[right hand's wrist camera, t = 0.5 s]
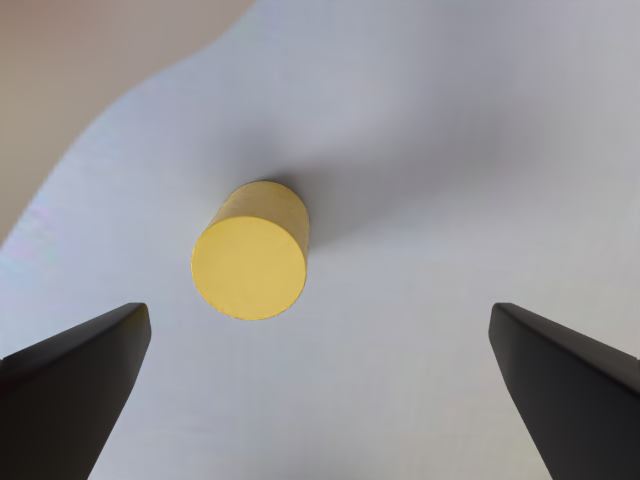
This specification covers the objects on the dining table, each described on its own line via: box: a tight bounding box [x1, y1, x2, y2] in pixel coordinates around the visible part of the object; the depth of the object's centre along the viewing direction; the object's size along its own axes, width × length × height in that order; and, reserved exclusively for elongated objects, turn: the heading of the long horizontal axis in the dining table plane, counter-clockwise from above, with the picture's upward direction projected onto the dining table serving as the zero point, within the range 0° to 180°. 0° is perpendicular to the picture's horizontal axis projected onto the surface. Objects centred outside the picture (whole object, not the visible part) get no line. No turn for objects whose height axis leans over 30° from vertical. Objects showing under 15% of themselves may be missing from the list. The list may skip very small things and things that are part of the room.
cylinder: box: [191, 181, 310, 320], centre depth 17 cm, size 4×4×5 cm
